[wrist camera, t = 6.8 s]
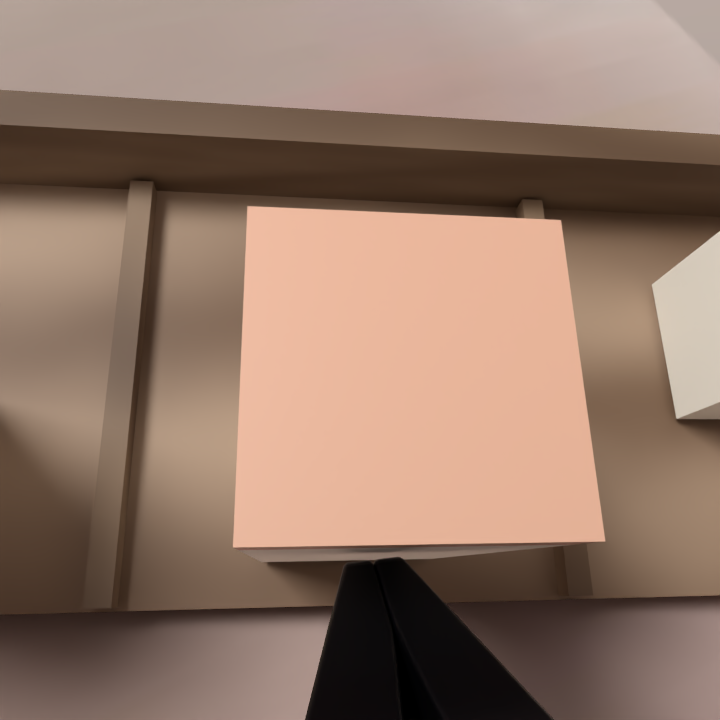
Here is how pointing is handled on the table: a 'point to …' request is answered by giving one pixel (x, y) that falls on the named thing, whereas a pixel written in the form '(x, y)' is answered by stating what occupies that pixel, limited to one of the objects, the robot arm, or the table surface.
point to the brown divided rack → (224, 339)
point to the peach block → (409, 389)
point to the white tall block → (692, 331)
